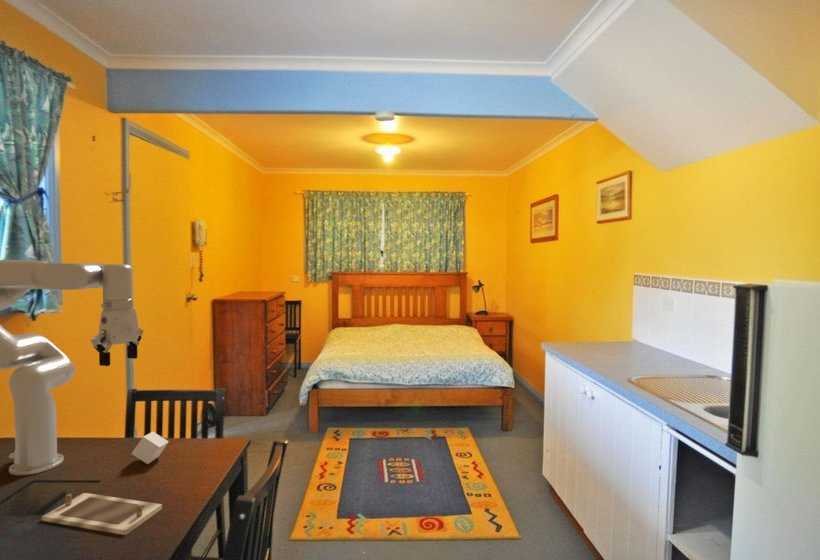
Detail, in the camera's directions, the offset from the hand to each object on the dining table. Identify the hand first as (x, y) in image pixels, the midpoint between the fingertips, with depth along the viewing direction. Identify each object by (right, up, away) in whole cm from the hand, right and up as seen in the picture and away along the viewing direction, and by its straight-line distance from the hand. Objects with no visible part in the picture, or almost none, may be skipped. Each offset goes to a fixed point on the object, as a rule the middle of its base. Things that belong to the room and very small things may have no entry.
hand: (119, 361), depth 132 cm
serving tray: (+12, -34, -23) cm, 43 cm away
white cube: (+6, -32, +5) cm, 33 cm away
